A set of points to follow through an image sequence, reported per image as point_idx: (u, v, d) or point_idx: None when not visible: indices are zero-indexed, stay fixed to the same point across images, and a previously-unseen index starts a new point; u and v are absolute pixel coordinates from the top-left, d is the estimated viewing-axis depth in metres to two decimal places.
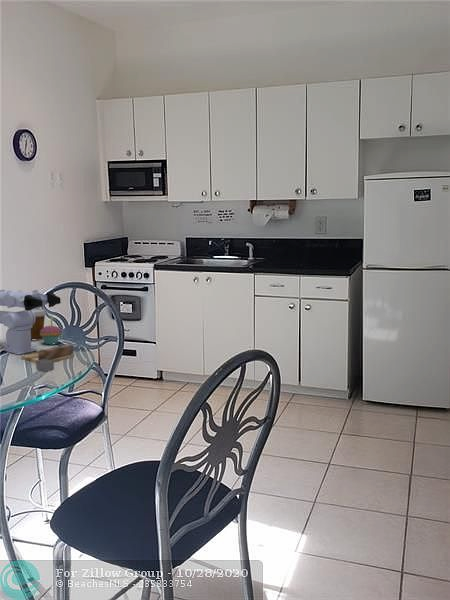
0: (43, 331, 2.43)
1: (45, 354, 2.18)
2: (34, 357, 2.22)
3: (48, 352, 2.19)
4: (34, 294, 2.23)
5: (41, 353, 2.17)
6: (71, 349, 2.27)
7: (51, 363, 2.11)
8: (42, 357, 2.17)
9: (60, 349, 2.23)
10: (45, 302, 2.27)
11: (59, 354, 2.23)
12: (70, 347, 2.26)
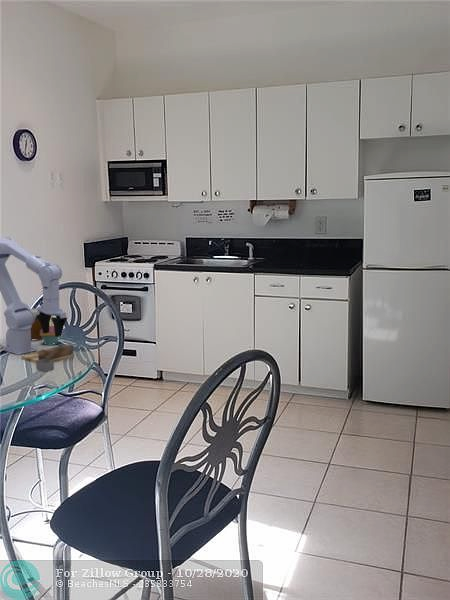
0: None
1: (45, 354, 2.18)
2: (34, 357, 2.22)
3: (48, 352, 2.19)
4: None
5: (41, 353, 2.17)
6: (71, 349, 2.27)
7: (51, 363, 2.11)
8: (42, 357, 2.17)
9: (60, 349, 2.23)
10: None
11: (59, 354, 2.23)
12: (70, 347, 2.26)
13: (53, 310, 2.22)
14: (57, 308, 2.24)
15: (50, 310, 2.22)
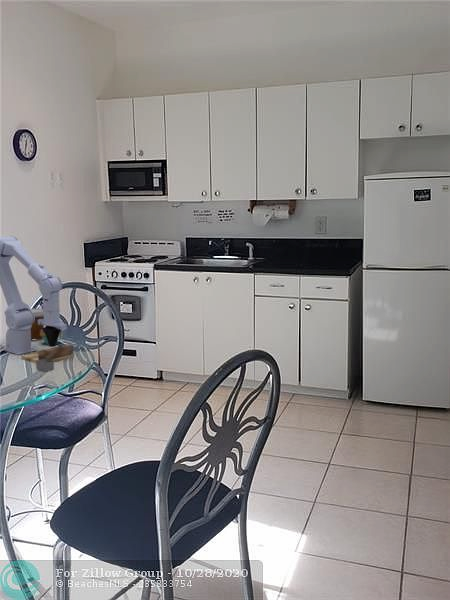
0: (43, 331, 2.43)
1: (45, 354, 2.18)
2: (34, 357, 2.22)
3: (48, 352, 2.19)
4: None
5: (41, 353, 2.17)
6: (71, 349, 2.27)
7: (51, 363, 2.11)
8: (42, 357, 2.17)
9: (60, 349, 2.23)
10: None
11: (59, 354, 2.23)
12: (70, 347, 2.26)
13: (53, 322, 2.23)
14: (57, 320, 2.24)
15: (50, 322, 2.23)
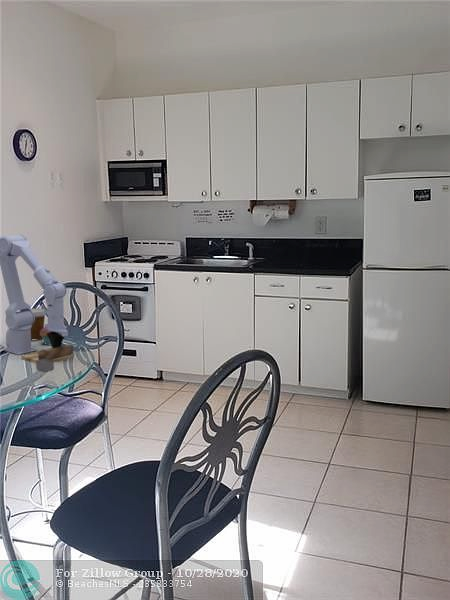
0: (43, 331, 2.43)
1: (45, 354, 2.18)
2: (34, 357, 2.22)
3: (48, 352, 2.19)
4: (63, 328, 2.26)
5: (41, 353, 2.17)
6: (71, 349, 2.27)
7: (51, 363, 2.11)
8: (42, 357, 2.17)
9: (60, 349, 2.23)
10: None
11: (59, 354, 2.23)
12: (70, 347, 2.26)
13: (56, 328, 2.22)
14: (61, 326, 2.23)
15: (53, 328, 2.22)
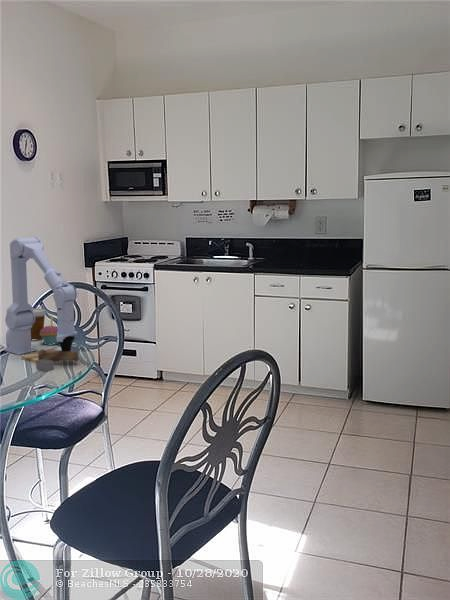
0: (43, 331, 2.43)
1: (42, 355, 2.17)
2: (34, 357, 2.22)
3: (46, 353, 2.17)
4: (71, 334, 2.18)
5: (38, 353, 2.17)
6: (74, 356, 2.17)
7: (51, 363, 2.11)
8: (39, 357, 2.17)
9: (60, 353, 2.17)
10: None
11: (59, 358, 2.17)
12: (73, 354, 2.17)
13: (60, 332, 2.16)
14: (65, 331, 2.16)
15: (58, 331, 2.17)
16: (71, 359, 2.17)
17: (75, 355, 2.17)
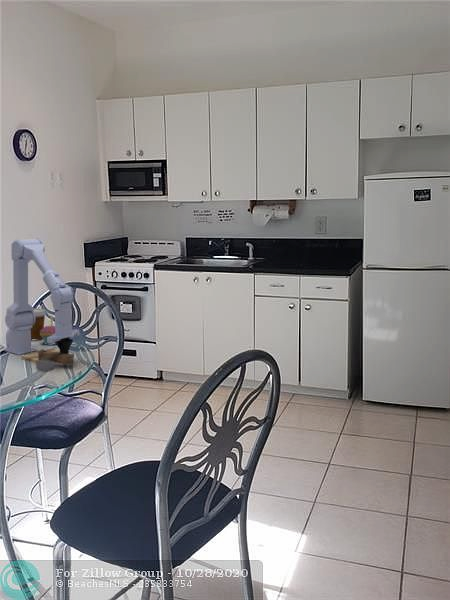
0: (43, 331, 2.43)
1: (40, 354, 2.17)
2: (34, 357, 2.22)
3: (43, 354, 2.16)
4: (67, 337, 2.14)
5: (38, 352, 2.18)
6: (67, 360, 2.13)
7: (51, 363, 2.11)
8: (38, 356, 2.18)
9: (55, 355, 2.14)
10: None
11: (54, 360, 2.15)
12: (66, 357, 2.13)
13: (56, 333, 2.14)
14: (59, 333, 2.13)
15: (55, 333, 2.14)
16: (64, 362, 2.13)
17: (68, 358, 2.13)
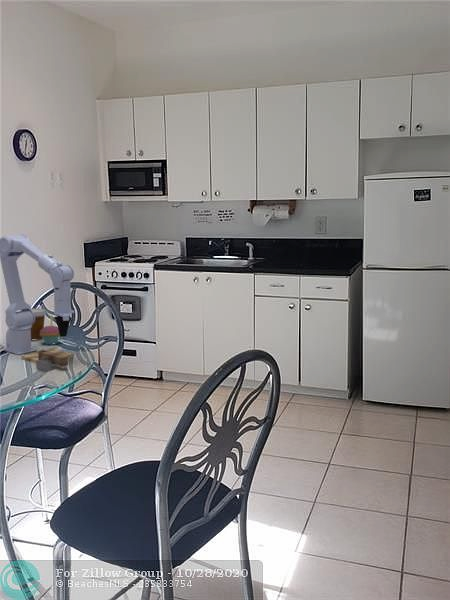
0: (43, 331, 2.43)
1: (39, 354, 2.17)
2: (34, 357, 2.22)
3: (42, 354, 2.16)
4: None
5: None
6: (60, 361, 2.10)
7: (51, 363, 2.11)
8: (38, 356, 2.18)
9: (51, 356, 2.13)
10: None
11: None
12: (60, 359, 2.10)
13: (60, 311, 2.18)
14: (65, 310, 2.18)
15: (58, 311, 2.18)
16: (58, 364, 2.11)
17: (61, 360, 2.10)
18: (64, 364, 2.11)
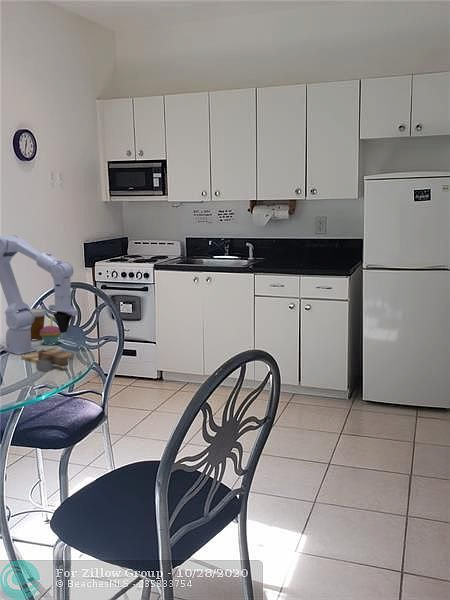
0: (43, 331, 2.43)
1: (39, 354, 2.17)
2: (34, 357, 2.22)
3: (42, 354, 2.16)
4: None
5: None
6: (60, 361, 2.10)
7: (51, 363, 2.11)
8: (38, 356, 2.18)
9: (51, 356, 2.13)
10: None
11: None
12: (60, 359, 2.10)
13: (65, 308, 2.22)
14: (69, 306, 2.23)
15: (62, 308, 2.22)
16: (58, 364, 2.11)
17: (61, 360, 2.10)
18: (64, 364, 2.11)
